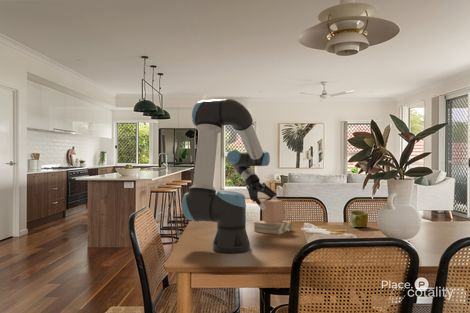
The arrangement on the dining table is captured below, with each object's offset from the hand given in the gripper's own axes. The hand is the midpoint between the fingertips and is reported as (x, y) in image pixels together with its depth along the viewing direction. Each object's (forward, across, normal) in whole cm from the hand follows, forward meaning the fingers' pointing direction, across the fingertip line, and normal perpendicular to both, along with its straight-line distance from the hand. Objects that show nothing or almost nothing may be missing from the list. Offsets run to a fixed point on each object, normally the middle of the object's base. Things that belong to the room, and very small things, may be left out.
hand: (272, 208), depth 183 cm
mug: (+29, -38, +12) cm, 49 cm away
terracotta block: (+6, 0, -4) cm, 7 cm away
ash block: (+9, 0, -8) cm, 12 cm away
